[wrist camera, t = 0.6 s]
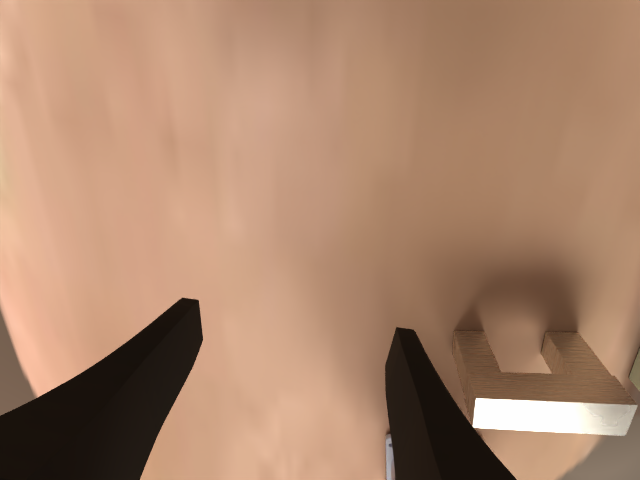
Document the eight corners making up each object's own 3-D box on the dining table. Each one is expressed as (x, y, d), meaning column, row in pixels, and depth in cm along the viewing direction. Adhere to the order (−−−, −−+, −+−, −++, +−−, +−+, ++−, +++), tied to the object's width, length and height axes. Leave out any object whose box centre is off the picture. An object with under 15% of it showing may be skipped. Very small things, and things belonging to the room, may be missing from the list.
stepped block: (571, 356, 25) (625, 435, 20) (452, 354, 26) (472, 427, 21) (578, 329, 24) (637, 405, 19) (454, 328, 25) (475, 398, 20)
